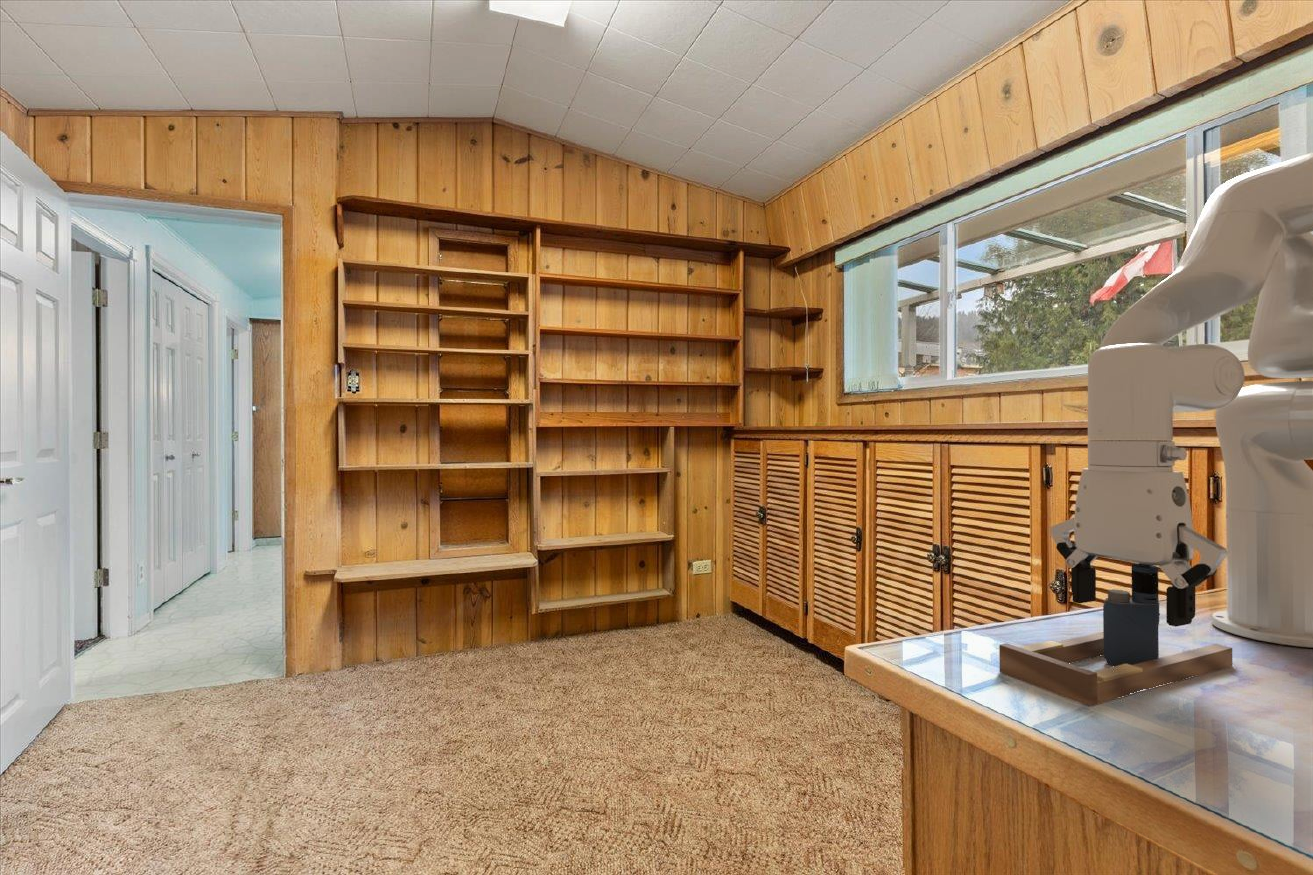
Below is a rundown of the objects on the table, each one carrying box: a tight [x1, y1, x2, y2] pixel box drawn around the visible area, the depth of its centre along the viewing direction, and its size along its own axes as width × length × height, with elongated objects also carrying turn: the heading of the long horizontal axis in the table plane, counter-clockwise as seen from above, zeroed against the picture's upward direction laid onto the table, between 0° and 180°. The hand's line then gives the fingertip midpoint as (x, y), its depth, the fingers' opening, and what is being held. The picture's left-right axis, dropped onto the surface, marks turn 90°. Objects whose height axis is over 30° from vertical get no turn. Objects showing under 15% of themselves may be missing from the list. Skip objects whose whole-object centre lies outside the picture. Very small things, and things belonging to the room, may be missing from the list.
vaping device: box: [1102, 563, 1161, 667], centre depth 70 cm, size 3×5×12 cm, turn 78°
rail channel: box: [998, 631, 1233, 707], centre depth 69 cm, size 24×10×3 cm, turn 113°
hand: (1128, 612), depth 70 cm, fingers open, 9 cm apart
